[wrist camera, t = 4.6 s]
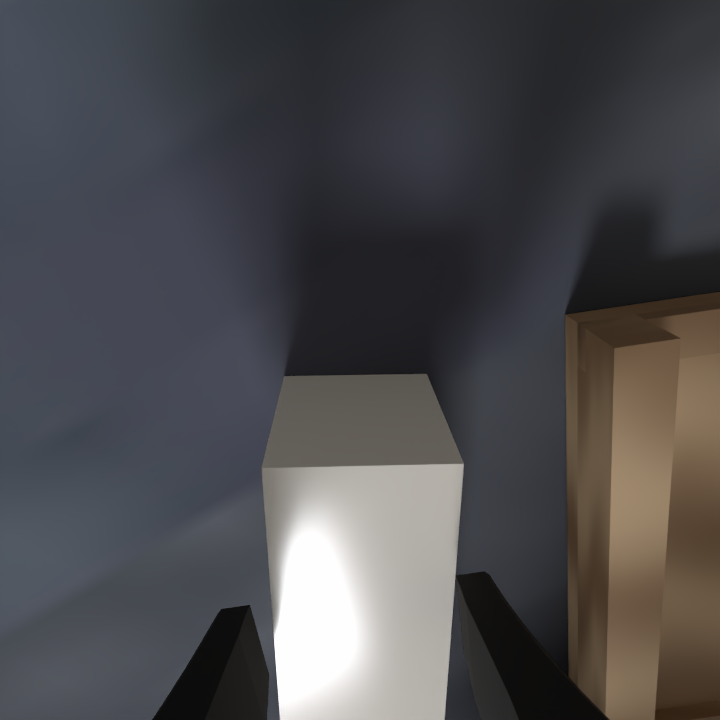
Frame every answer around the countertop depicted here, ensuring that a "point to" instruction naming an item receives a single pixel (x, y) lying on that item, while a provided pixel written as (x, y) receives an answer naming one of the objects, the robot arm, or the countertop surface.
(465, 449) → the countertop surface
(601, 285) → the countertop surface
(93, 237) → the countertop surface
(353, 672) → the light grey rectangular block
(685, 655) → the oak rack
